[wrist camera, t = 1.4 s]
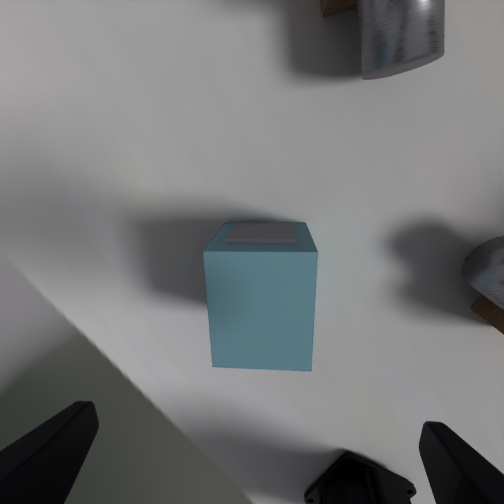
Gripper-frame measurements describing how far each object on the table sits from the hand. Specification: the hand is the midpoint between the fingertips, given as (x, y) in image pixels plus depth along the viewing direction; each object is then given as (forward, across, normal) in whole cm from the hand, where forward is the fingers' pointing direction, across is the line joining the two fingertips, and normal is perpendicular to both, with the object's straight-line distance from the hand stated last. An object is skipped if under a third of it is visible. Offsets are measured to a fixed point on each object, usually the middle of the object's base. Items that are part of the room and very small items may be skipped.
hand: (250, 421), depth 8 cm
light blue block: (+11, 0, 0) cm, 11 cm away
